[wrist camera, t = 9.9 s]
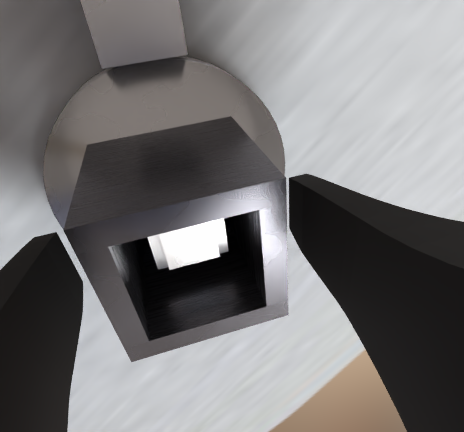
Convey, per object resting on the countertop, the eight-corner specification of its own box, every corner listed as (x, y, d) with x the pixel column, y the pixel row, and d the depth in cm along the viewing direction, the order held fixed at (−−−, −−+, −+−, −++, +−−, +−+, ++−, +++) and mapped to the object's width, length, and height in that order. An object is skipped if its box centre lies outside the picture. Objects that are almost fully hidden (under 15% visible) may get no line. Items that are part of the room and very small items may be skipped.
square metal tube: (130, 255, 14) (131, 362, 10) (87, 144, 11) (63, 229, 7) (243, 227, 14) (288, 314, 10) (231, 116, 12) (286, 177, 8)
